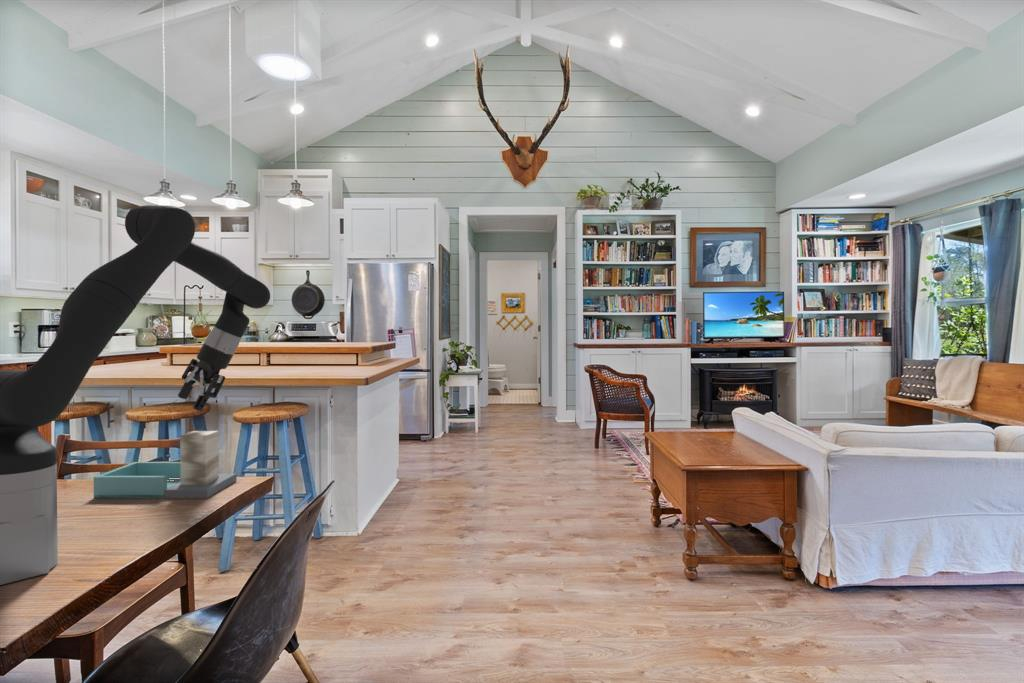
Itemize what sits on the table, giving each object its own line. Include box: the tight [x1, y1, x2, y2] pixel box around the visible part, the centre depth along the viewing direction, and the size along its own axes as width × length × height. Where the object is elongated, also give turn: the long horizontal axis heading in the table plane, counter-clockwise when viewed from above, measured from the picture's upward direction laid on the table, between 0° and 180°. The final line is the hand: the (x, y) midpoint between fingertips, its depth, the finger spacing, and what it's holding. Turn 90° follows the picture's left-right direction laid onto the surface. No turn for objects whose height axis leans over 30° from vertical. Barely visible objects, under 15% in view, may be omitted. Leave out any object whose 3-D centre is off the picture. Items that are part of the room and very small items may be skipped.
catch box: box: [93, 461, 180, 499], centre depth 128 cm, size 16×14×5 cm
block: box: [179, 430, 220, 485], centre depth 129 cm, size 6×6×12 cm
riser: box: [163, 472, 238, 499], centre depth 129 cm, size 10×14×2 cm
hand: (189, 403), depth 135 cm, fingers open, 8 cm apart
